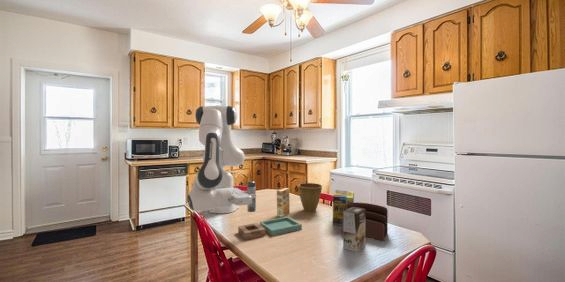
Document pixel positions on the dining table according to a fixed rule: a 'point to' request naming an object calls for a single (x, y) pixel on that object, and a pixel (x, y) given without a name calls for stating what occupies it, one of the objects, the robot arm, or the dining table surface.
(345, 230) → the coffee box
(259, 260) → the dining table surface
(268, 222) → the tray
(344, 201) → the protein box
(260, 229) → the socket block
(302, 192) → the plant pot
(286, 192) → the candy box
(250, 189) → the spice jar
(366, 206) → the letter holder
